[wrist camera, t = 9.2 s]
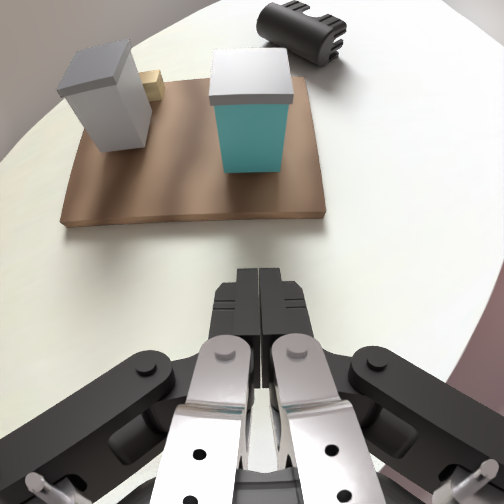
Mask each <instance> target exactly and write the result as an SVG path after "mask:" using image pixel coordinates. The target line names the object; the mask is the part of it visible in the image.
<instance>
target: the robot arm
mask: <svg viewBox="0 0 504 504" xmlns="http://www.w3.org/2000/svg"><path fill="white" fill-rule="evenodd" d="M259 315H260V316H259ZM260 341H261V365H262V388H269V392H270V406H269V408H270V416H271V422H272V429H273V435H274V442H275V448H276V455H277V470H278V471H275V472H271V473H259V472H254V471H249V470H248V453H249V442H250V431H251V420H252V406H253V403H254V388H260ZM162 451H164V452H163V455H162V459H161V463H160V467H159V470H158V474H157V477H155V478H153V479H150V480H148V481H146V482H145V483H143V484H141V485H140V486H138V487H137V488H136V489H134V490H133V491H132V492H131V493H129V494H128V495H127V496H126V497H124V498H123V499H122V500H121V501H119V502H118V503H117V504H425V503H424V502H422V501H421V500H420V499H418V498H417V497H415V496H414V495H412V494H411V493H410V492H408V491H407V490H405V489H404V488H403V487H401V486H400V485H399V484H397V483H396V482H394V481H393V480H392V479H390V478H388V477H386V476H385V475H383V474H381V473H378V472H376V471H375V468H374V465H373V463H372V460H371V457H370V454H369V452H370V453H371V454H372V455H374V456H375V457H377V458H378V459H379V460H381V461H382V462H384V463H385V464H387V465H388V466H390V467H391V468H393V469H394V470H396V471H397V472H398V473H400V474H401V475H403V476H405V477H406V478H407V479H409V480H410V481H412V482H414V483H415V484H417V485H418V486H420V487H421V488H423V489H424V490H426V491H428V492H429V493H431V494H432V495H433V500H432V501H433V504H504V417H503V416H501V415H500V414H498V413H496V412H495V411H493V410H491V409H489V408H488V407H486V406H484V405H482V404H481V403H479V402H477V401H475V400H474V399H472V398H470V397H468V396H467V395H465V394H463V393H461V392H460V391H458V390H456V389H455V388H453V387H451V386H449V385H448V384H446V383H444V382H443V381H441V380H439V379H437V378H436V377H434V376H432V375H431V374H429V373H427V372H425V371H424V370H422V369H420V368H419V367H417V366H415V365H413V364H412V363H410V362H408V361H407V360H405V359H403V358H402V357H400V356H398V355H396V354H395V353H393V352H391V351H390V350H388V349H386V348H383V347H379V346H367V347H363V348H361V349H359V350H358V351H356V352H355V353H354V355H353V357H349V356H342V355H337V354H333V353H330V352H328V351H326V350H324V349H323V348H322V347H321V345H320V343H319V342H318V341H317V340H316V339H314V336H313V332H312V327H311V323H310V319H309V315H308V311H307V308H306V302H305V298H304V294H303V290H302V288H301V287H300V286H299V285H298V284H297V283H296V282H295V281H282V280H281V274H280V269H279V268H259V293H258V270H257V268H248V269H237V280H236V282H232V283H222V284H221V285H220V286H219V288H218V289H217V290H216V291H215V298H214V304H213V311H212V317H211V324H210V330H209V337H208V340H207V341H206V342H205V343H204V344H203V345H202V346H201V348H200V351H199V353H197V354H196V355H194V356H191V357H189V358H185V359H181V360H176V361H170V359H169V357H168V356H166V355H165V354H164V353H162V352H159V351H154V350H147V351H141V352H138V353H136V354H134V355H132V356H131V357H129V358H128V359H126V360H124V361H123V362H121V363H120V364H118V365H117V366H115V367H114V368H112V369H111V370H109V371H108V372H106V373H105V374H103V375H101V376H100V377H98V378H97V379H95V380H94V381H92V382H91V383H89V384H87V385H86V386H84V387H83V388H81V389H80V390H78V391H77V392H75V393H73V394H72V395H70V396H69V397H67V398H66V399H64V400H62V401H61V402H59V403H58V404H56V405H55V406H53V407H51V408H50V409H48V410H47V411H45V412H44V413H42V414H40V415H39V416H37V417H36V418H34V419H32V420H31V421H29V422H28V423H26V424H24V425H23V426H21V427H20V428H18V429H16V430H15V431H13V432H11V433H10V434H8V435H7V436H5V437H3V438H2V439H0V504H93V503H94V502H96V501H97V500H98V499H100V498H101V497H103V496H104V495H106V494H107V493H108V492H110V491H111V490H113V489H114V488H115V487H117V486H118V485H119V484H121V483H122V482H124V481H125V480H126V479H128V478H129V477H130V476H132V475H133V474H134V473H136V472H137V471H138V470H140V469H141V468H142V467H143V466H145V465H146V464H147V463H149V462H150V461H151V460H152V459H154V458H155V457H156V456H157V455H159V454H160V453H161V452H162Z"/></svg>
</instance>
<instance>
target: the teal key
mask: <svg viewBox="0 0 504 504" xmlns="http://www.w3.org/2000/svg"><path fill="white" fill-rule="evenodd" d="M293 97H294V92H293V85H292V79H291V73H290V67H289V61H288V55H287V50H286V48H230V49H214V50H213V59H212V68H211V77H210V88H209V101H210V106H214V110H215V117H216V124H217V130H218V137H219V143H220V150H221V157H222V163H223V169H224V173H244V172H280V169H281V161H282V154H283V146H284V139H285V131H286V123H287V116H288V108H289V104H293Z"/></svg>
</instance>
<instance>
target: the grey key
mask: <svg viewBox="0 0 504 504" xmlns="http://www.w3.org/2000/svg"><path fill="white" fill-rule="evenodd" d="M131 48H132V45H131V42H130V39H124V40H120V41H115V42H111V43H107V44H103V45H99V46H95V47H92V48H88V49H84V50H81V51H77V52H76V54H75V56H74V58H73V59H72V61H71V63H70V65H69V67H68V68H67V70H66V72H65V74H64V76H63V78H62V80H61V82H60V84H59V86H58V88H57V92H58V94H59V95H60V97H61V98H62V97H65V99H66V100H67V102H68V103H69V105H70V106H71V108H72V110H73V111H74V113H75V114H76V116H77V117H78V119H79V121H80V122H81V124H82V125H83V127H84V128H85V130H86V131H87V133H88V134H89V136H90V137H91V139H92V140H93V142H94V143H95V145H96V146H97V148H98V149H99V151H100V152H101V153H103V152H110V151H118V150H125V149H134V148H143V147H145V144H146V139H147V134H148V129H149V124H150V119H151V115H152V109H151V106H150V104H149V101H148V98H147V96H146V93H145V90H144V87H143V85H142V82H141V79H140V76H139V74H138V71H137V68H136V65H135V62H134V60H133V57H132V54H131V51H130V50H131Z"/></svg>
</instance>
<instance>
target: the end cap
mask: <svg viewBox="0 0 504 504" xmlns="http://www.w3.org/2000/svg"><path fill="white" fill-rule="evenodd" d="M308 9H310V6H308V5H306V4H303V3H301V2H299V1H295V0H293V1H291V2H288V3H286V4H283V5H278V4H275V3H270V4H268V5H267V6H266V7H265V8H264V9H263V10H262V11H261V13H260V15H259V17H258V19H257V24H256V28H257V33H258V34H259V35H260V36H261V37H262V38H265V39H266V40H268V41H270V42H272V43H275V44H277V45H279V46H281V47H283V48H286V49H287V50H289V51H291V52H293V53H295V54H297V55H299V56H301V57H303V58H305V59H307V60H308V61H310V62H312V63H314V64H316V65H318V66H320V67H322V66H325V65H326V64H328V63H329V62H331V61H332V60H334V59H335V58H337V57H338V54H339V53H338V52H337V51H336V50H338V49H340V48H341V47H342V45H343V40H342V39H340V40H338V41H336V42H335V43H333V41H334V40H335V39H336V38H337V37H339V36H341V35H343V34H344V33H345V32H346V27H347V25H346V23H345V22H344V21H342V20H340V19H338V18H336V17H334V16H332V15H329V14H327V15H324V16H322V17H310V16H307V15H305V14H303V13H302V12H303V11H305V10H308Z"/></svg>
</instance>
